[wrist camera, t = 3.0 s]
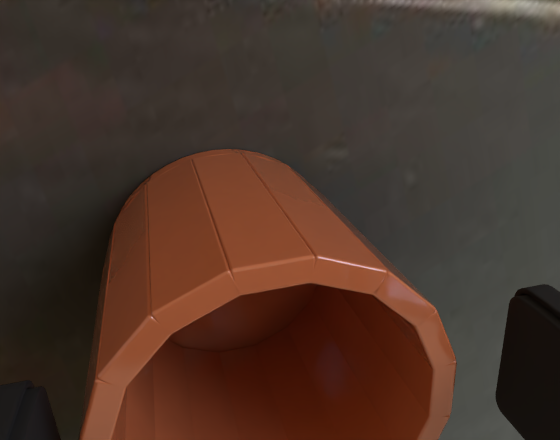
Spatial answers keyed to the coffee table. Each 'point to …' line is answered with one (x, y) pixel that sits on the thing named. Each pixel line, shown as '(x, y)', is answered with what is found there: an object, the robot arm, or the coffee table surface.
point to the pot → (257, 317)
